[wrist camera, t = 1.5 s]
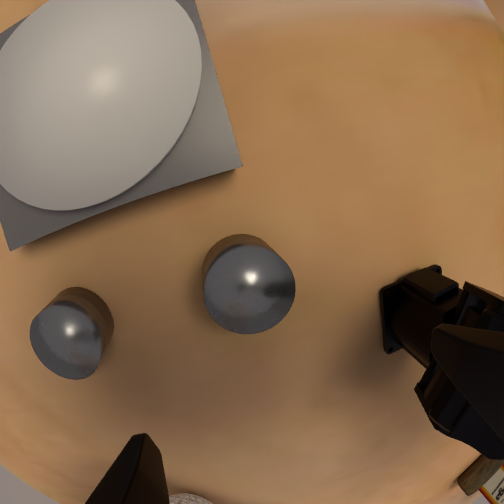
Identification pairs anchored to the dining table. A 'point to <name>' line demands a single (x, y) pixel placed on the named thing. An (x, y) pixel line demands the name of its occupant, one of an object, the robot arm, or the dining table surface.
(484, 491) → the baking soda box
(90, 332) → the cylinder
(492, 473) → the stone weight
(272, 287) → the cylinder
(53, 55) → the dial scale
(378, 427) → the dining table surface
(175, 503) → the heart
